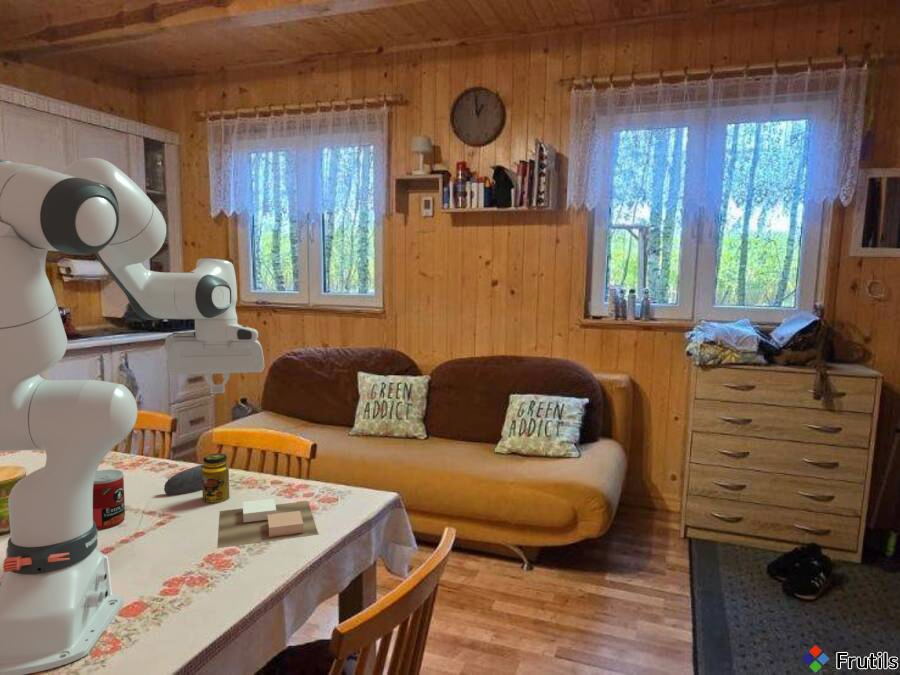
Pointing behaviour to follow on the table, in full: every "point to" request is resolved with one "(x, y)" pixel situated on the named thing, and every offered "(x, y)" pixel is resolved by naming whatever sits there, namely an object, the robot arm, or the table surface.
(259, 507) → the cream tile
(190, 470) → the perforated stone tool
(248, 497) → the table surface
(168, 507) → the table surface
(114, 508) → the canned food
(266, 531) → the walnut board
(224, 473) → the condiment
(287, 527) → the terracotta tile
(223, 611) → the table surface
